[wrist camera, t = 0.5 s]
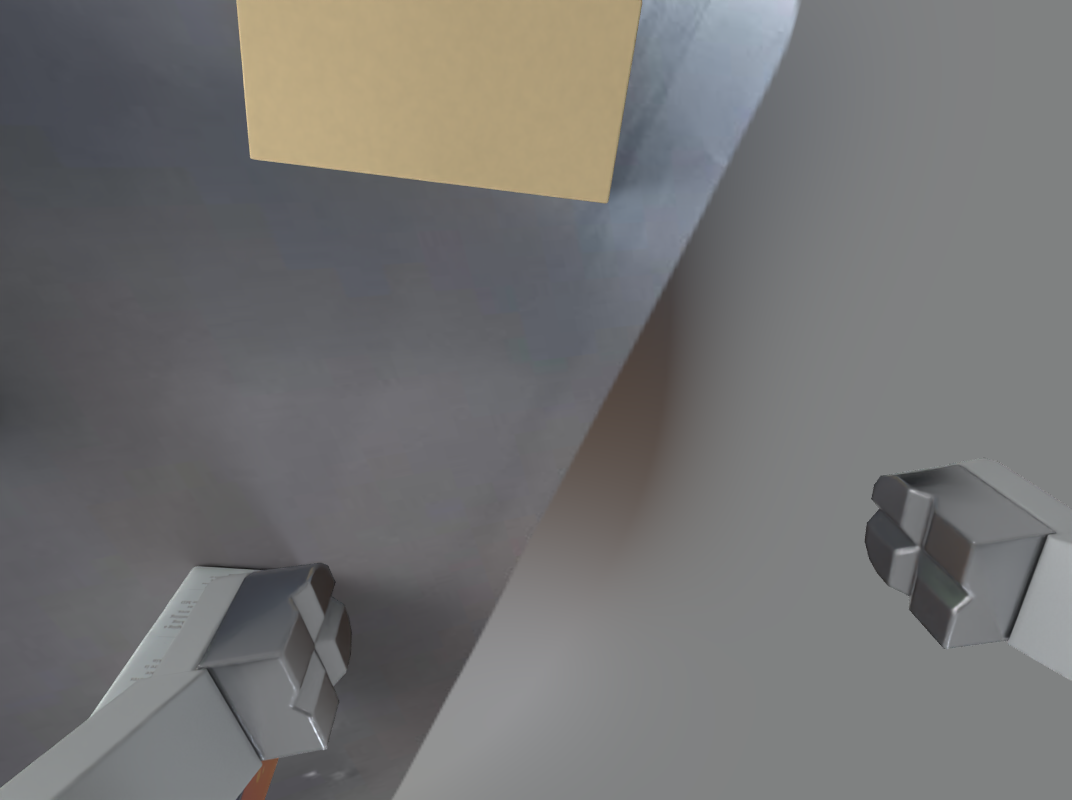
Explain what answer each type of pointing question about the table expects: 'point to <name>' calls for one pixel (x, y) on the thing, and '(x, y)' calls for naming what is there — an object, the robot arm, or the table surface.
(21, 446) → the table surface
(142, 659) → the small box
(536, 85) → the beige pad
